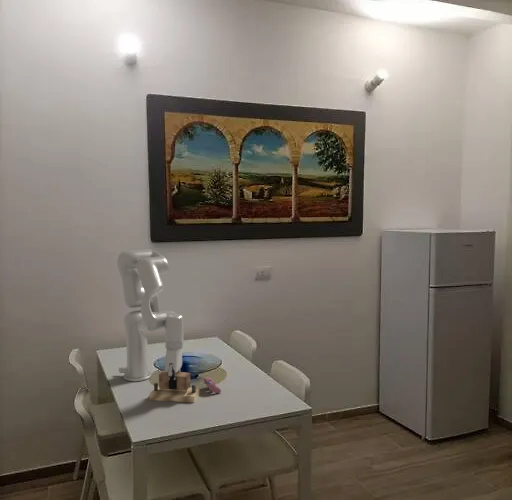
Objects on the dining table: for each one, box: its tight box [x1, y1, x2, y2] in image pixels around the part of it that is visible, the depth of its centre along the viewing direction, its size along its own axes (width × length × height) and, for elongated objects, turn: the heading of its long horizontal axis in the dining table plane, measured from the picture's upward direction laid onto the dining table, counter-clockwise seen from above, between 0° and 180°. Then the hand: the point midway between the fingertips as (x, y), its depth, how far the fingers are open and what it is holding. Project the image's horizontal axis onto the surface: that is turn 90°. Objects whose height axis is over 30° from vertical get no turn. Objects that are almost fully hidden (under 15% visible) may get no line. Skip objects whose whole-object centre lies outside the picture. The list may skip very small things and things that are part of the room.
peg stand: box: [149, 382, 200, 403], centre depth 202 cm, size 19×9×6 cm, turn 84°
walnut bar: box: [158, 370, 191, 391], centre depth 202 cm, size 12×5×6 cm, turn 79°
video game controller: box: [202, 376, 222, 394], centre depth 210 cm, size 10×5×7 cm, turn 22°
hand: (174, 385), depth 202 cm, fingers closed on walnut bar, 5 cm apart
